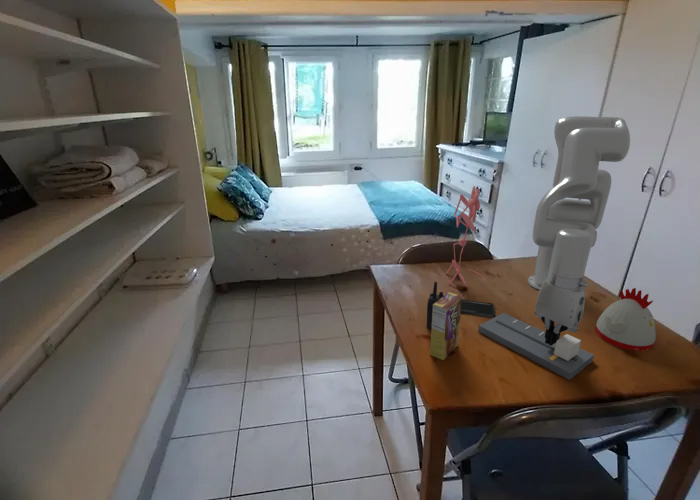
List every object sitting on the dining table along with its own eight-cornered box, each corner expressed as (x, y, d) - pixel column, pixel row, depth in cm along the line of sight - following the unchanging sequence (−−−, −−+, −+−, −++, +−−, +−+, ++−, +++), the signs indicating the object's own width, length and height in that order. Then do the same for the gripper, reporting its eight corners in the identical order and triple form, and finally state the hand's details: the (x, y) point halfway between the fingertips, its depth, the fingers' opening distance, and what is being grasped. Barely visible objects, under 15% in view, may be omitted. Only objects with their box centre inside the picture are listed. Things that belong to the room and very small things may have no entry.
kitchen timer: (632, 356, 102) (647, 306, 96) (584, 329, 114) (595, 283, 108) (664, 343, 107) (681, 295, 102) (615, 319, 119) (628, 275, 113)
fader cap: (563, 346, 102) (566, 333, 100) (577, 353, 99) (581, 340, 97) (553, 353, 99) (556, 340, 97) (568, 361, 96) (571, 347, 95)
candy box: (444, 339, 109) (448, 291, 103) (458, 345, 106) (464, 296, 101) (428, 354, 103) (432, 303, 97) (442, 361, 100) (448, 309, 94)
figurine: (449, 295, 133) (462, 195, 121) (441, 265, 157) (451, 179, 144) (495, 298, 132) (513, 197, 119) (480, 267, 156) (493, 180, 143)
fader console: (502, 318, 119) (503, 312, 119) (592, 361, 100) (594, 354, 99) (478, 331, 113) (479, 324, 112) (569, 380, 93) (571, 372, 92)
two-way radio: (429, 331, 113) (433, 284, 108) (421, 323, 117) (424, 278, 111) (445, 327, 115) (450, 281, 109) (437, 319, 119) (441, 275, 113)
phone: (446, 297, 130) (494, 303, 126) (446, 300, 131) (493, 306, 127) (445, 308, 123) (495, 315, 119) (445, 312, 124) (494, 318, 120)
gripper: (604, 286, 91) (587, 351, 98) (543, 265, 103) (531, 325, 109) (589, 295, 87) (573, 362, 94) (527, 272, 98) (516, 334, 105)
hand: (550, 342), depth 102 cm, fingers closed
